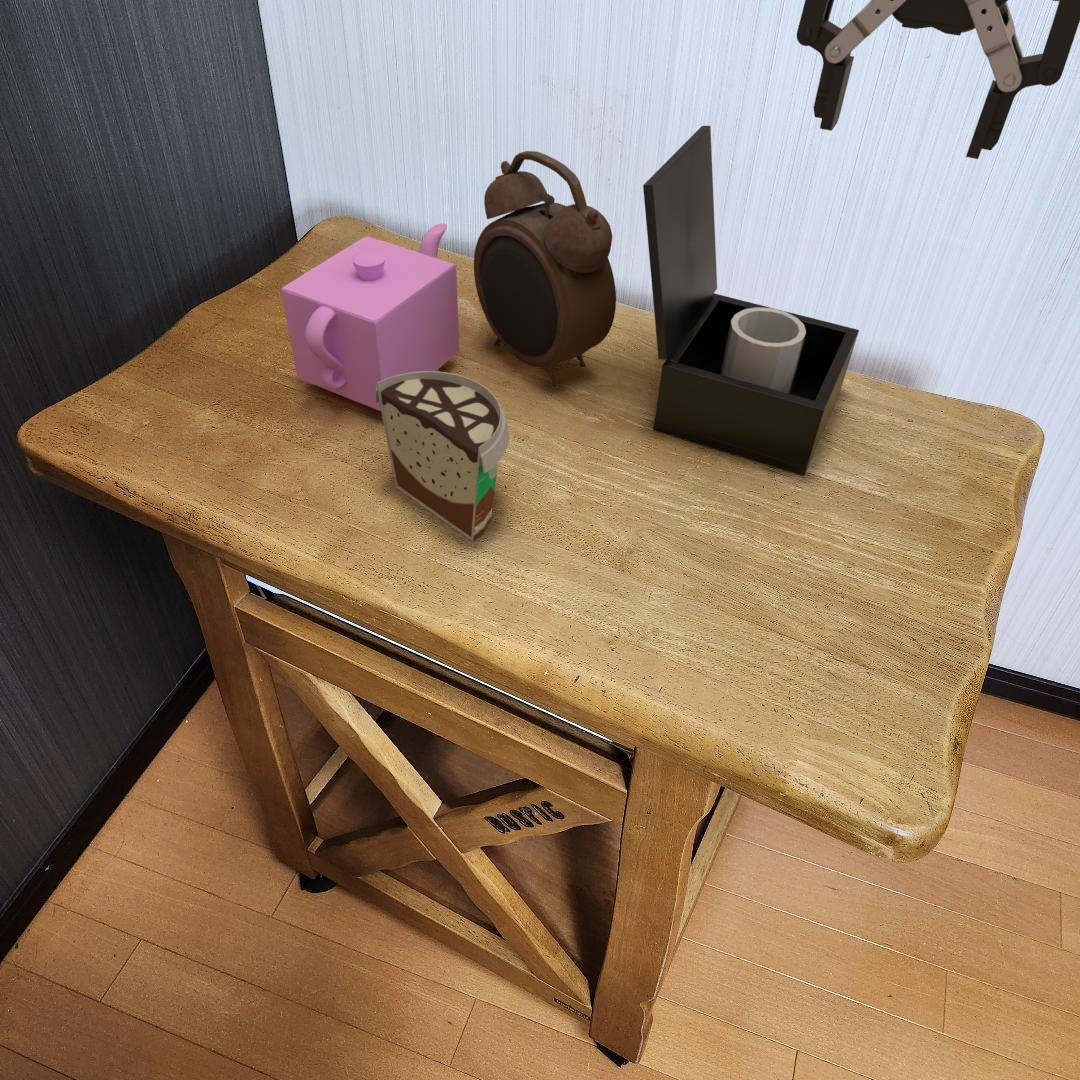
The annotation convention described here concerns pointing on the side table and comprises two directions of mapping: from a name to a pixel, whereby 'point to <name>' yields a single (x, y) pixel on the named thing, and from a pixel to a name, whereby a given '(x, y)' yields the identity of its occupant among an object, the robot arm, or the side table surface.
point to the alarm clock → (544, 268)
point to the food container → (444, 444)
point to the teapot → (373, 316)
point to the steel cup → (764, 348)
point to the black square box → (751, 391)
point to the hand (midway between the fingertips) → (899, 139)
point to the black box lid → (681, 239)
